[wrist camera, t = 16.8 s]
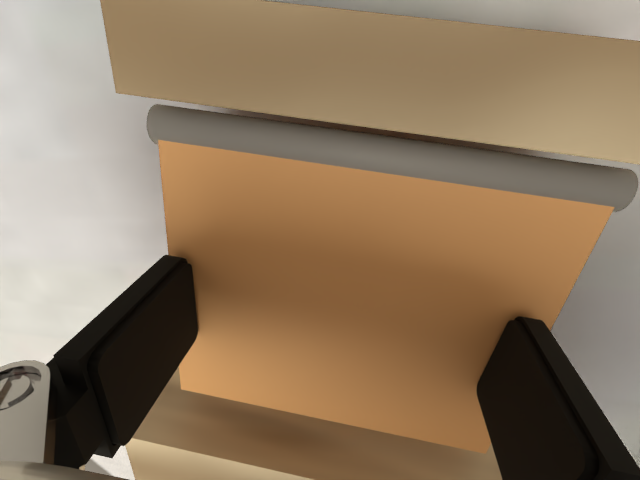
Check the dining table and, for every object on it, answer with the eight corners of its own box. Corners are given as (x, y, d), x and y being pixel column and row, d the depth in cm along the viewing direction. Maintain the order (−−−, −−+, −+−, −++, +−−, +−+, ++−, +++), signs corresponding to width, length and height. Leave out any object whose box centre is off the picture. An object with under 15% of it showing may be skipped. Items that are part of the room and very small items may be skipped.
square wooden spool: (448, 427, 18) (481, 591, 13) (212, 378, 19) (143, 508, 14) (622, 62, 10) (957, 58, 4) (186, 13, 11) (-19, -43, 5)
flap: (483, 430, 12) (492, 458, 11) (187, 369, 13) (174, 390, 12) (615, 164, 8) (645, 174, 7) (167, 103, 9) (144, 105, 8)
